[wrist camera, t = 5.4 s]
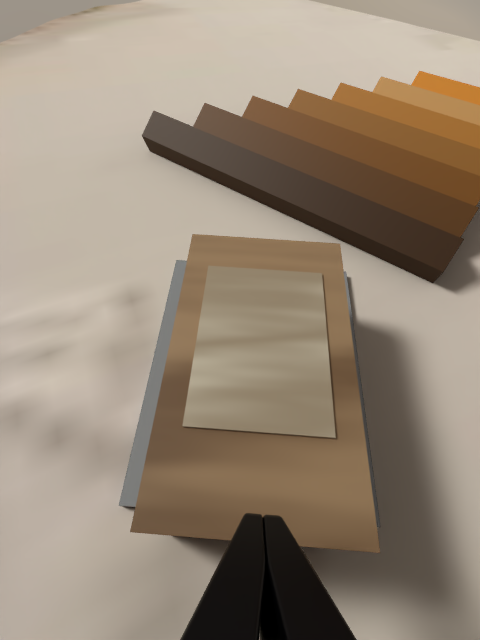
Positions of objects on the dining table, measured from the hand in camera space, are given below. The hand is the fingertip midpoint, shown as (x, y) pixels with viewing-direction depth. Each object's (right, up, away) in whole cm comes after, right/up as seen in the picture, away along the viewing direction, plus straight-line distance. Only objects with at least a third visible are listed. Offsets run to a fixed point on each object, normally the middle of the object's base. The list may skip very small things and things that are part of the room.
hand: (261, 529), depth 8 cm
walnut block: (0, -3, +4) cm, 5 cm away
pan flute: (+9, +21, +24) cm, 33 cm away
